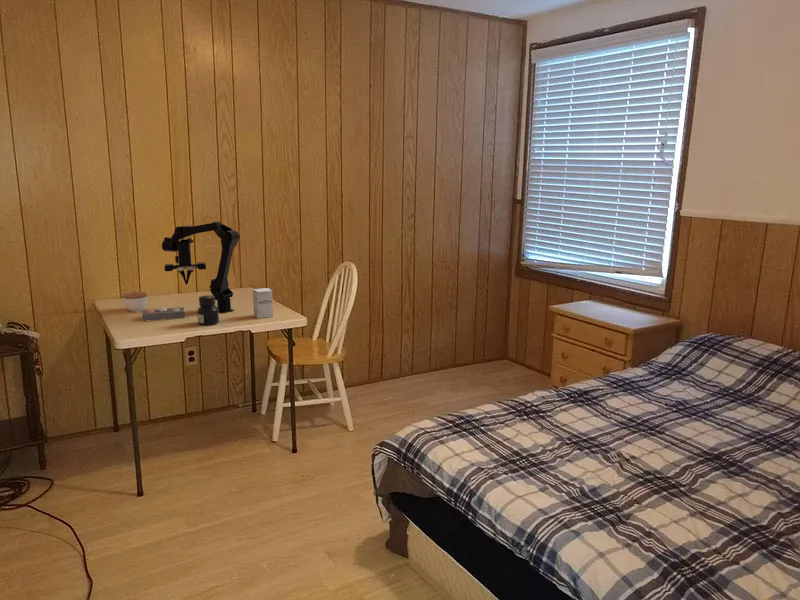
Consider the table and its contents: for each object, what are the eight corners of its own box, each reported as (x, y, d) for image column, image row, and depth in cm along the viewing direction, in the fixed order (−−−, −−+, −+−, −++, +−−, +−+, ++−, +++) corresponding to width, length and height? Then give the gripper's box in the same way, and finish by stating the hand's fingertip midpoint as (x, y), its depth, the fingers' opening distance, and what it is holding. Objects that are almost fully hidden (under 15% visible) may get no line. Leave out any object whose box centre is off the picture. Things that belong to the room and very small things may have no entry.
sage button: (180, 312, 285) (180, 308, 284) (180, 313, 282) (180, 309, 281) (172, 312, 284) (171, 308, 283) (172, 314, 280) (171, 310, 280)
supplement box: (257, 318, 279) (256, 291, 276) (253, 315, 286) (252, 288, 283) (273, 317, 282) (272, 290, 280) (269, 313, 289) (268, 287, 286)
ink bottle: (199, 321, 274) (197, 295, 272) (219, 320, 276) (217, 294, 274) (197, 326, 265) (195, 299, 263) (218, 325, 267) (216, 298, 265)
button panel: (184, 313, 288) (183, 307, 288) (184, 317, 280) (184, 311, 279) (143, 316, 282) (142, 310, 281) (142, 321, 274) (141, 314, 273)
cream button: (167, 310, 283) (167, 306, 282) (167, 312, 279) (167, 308, 279) (159, 311, 281) (158, 307, 281) (159, 313, 278) (158, 309, 278)
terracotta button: (155, 314, 281) (154, 309, 281) (154, 315, 278) (154, 311, 277) (146, 314, 280) (146, 310, 279) (146, 316, 276) (146, 312, 276)
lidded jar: (133, 306, 301) (131, 288, 299) (152, 308, 298) (151, 289, 296) (119, 312, 290) (117, 292, 288) (139, 313, 288) (137, 293, 286)
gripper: (203, 249, 303) (205, 280, 306) (163, 250, 296) (165, 282, 300) (205, 252, 292) (207, 284, 296) (163, 254, 286) (166, 286, 289)
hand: (186, 284), depth 295 cm, fingers closed
